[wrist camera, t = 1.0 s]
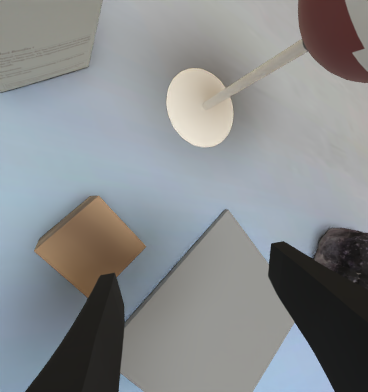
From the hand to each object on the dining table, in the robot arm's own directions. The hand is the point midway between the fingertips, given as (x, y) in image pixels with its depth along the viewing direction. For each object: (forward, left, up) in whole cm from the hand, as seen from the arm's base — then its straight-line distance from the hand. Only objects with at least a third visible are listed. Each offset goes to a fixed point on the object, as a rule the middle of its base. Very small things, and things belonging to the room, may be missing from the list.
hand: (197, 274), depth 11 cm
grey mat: (+1, -15, -12) cm, 19 cm away
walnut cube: (-2, +2, -13) cm, 13 cm away
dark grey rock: (+18, -26, -13) cm, 34 cm away
